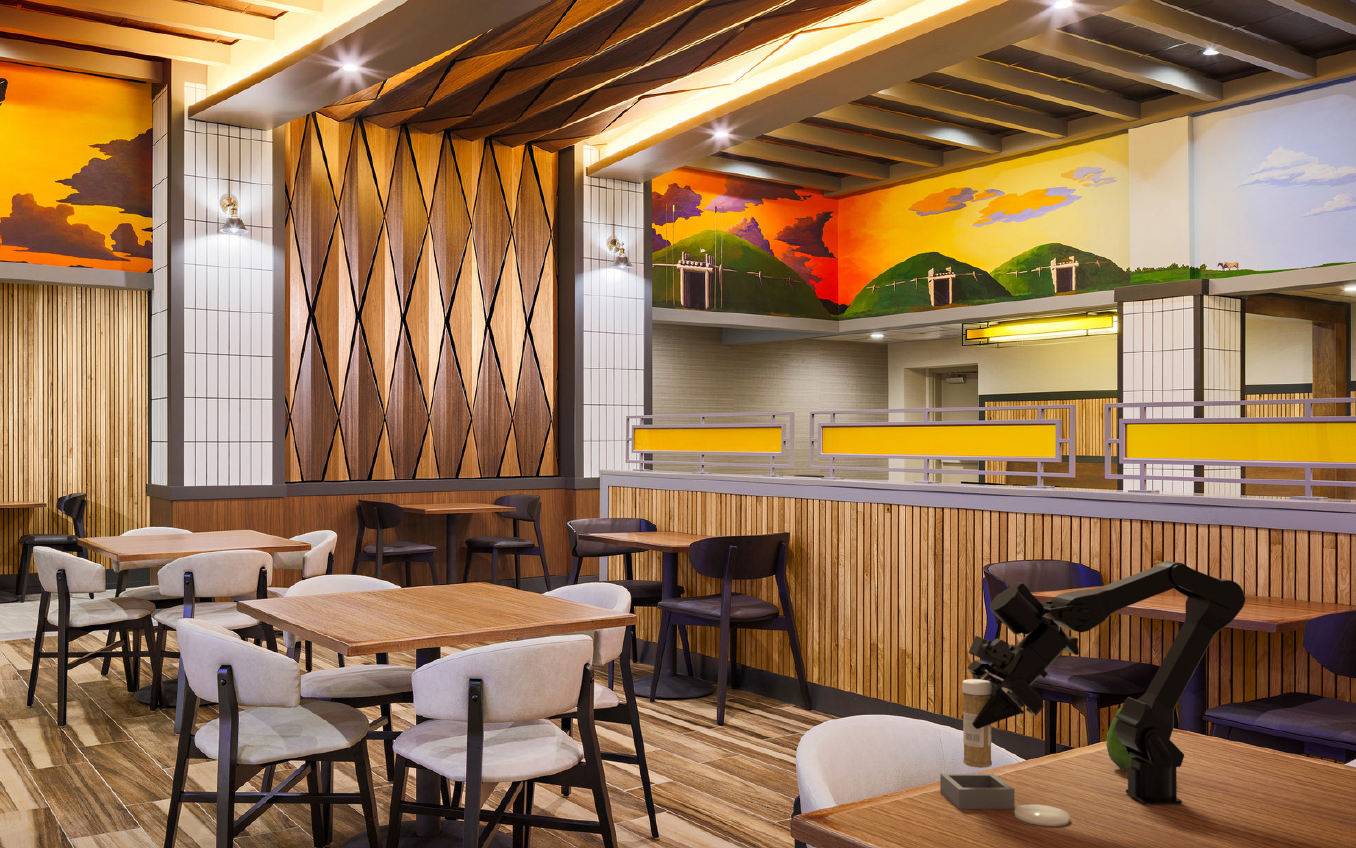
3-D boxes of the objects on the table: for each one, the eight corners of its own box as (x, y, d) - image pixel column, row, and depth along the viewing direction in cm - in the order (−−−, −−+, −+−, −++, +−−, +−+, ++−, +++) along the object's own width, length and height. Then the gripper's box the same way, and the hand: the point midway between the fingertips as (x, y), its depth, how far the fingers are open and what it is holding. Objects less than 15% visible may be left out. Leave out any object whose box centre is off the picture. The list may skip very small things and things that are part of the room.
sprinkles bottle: (997, 766, 170) (997, 681, 171) (978, 770, 167) (978, 684, 168) (975, 759, 174) (975, 677, 174) (956, 763, 171) (956, 679, 172)
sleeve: (993, 792, 175) (993, 773, 175) (1014, 808, 166) (1014, 789, 166) (940, 792, 174) (940, 773, 174) (958, 809, 165) (958, 789, 165)
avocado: (1135, 779, 185) (1135, 709, 185) (1097, 768, 192) (1097, 701, 192) (1164, 773, 189) (1163, 705, 189) (1126, 763, 195) (1125, 697, 196)
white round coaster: (1055, 809, 166) (1055, 804, 166) (1078, 826, 158) (1078, 820, 158) (1006, 809, 165) (1006, 804, 165) (1027, 826, 157) (1027, 820, 157)
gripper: (978, 612, 181) (916, 677, 180) (1023, 627, 163) (954, 700, 161) (1022, 658, 182) (961, 724, 180) (1073, 678, 163) (1005, 751, 161)
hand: (968, 723), depth 171 cm, fingers closed on sprinkles bottle, 4 cm apart
